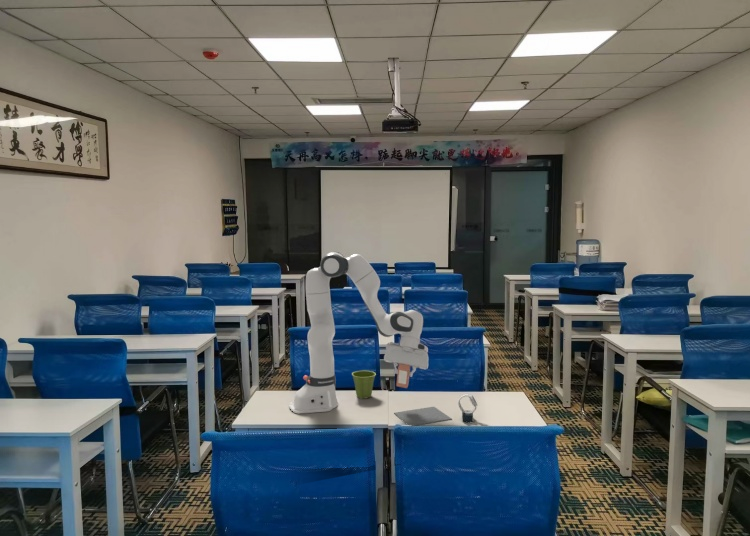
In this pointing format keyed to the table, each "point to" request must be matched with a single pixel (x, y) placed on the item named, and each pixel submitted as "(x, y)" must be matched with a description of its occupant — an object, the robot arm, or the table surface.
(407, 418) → the mat
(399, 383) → the block
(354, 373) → the plant pot
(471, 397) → the watch
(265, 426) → the table surface
